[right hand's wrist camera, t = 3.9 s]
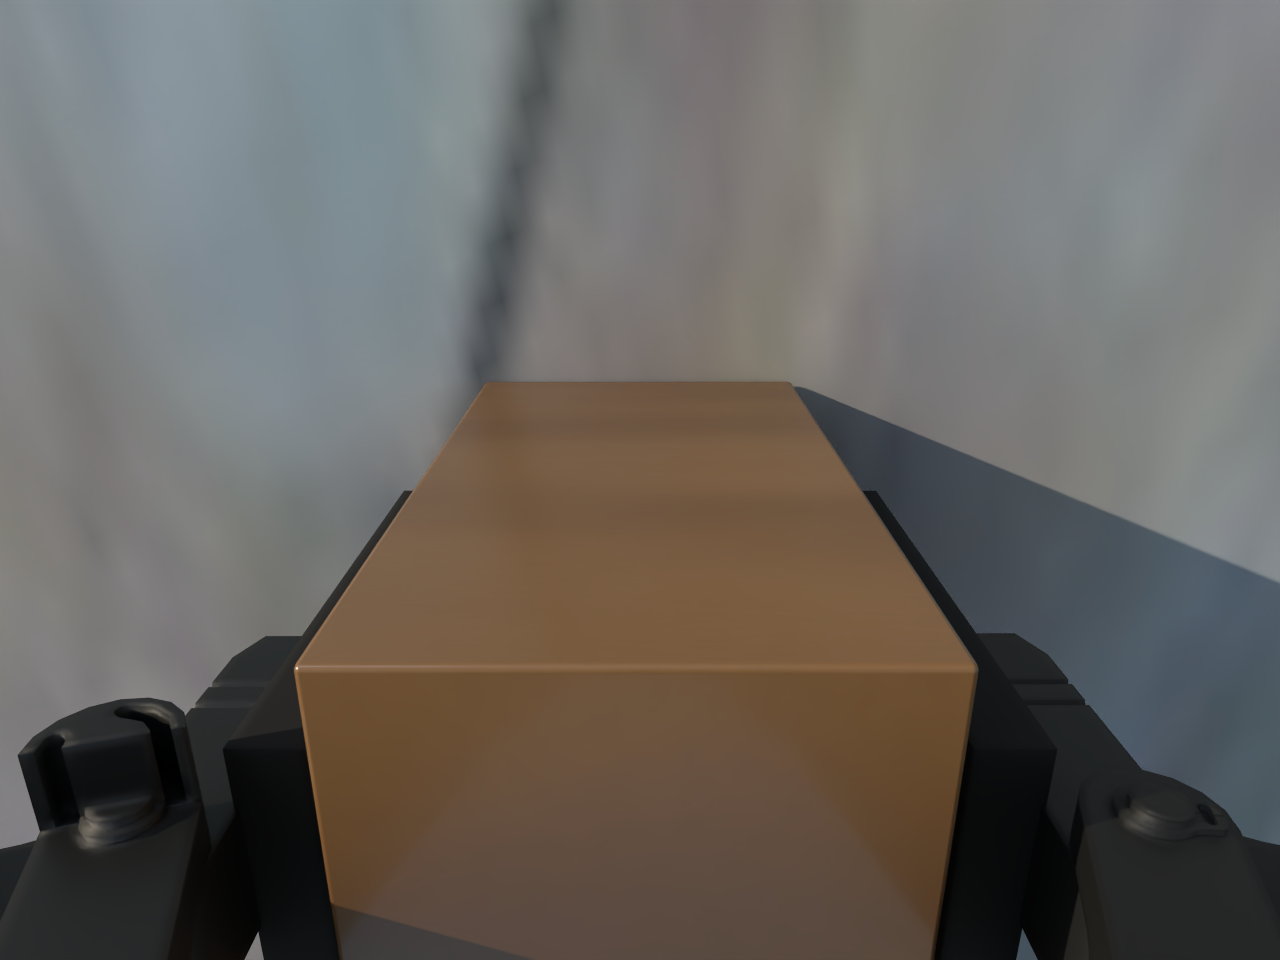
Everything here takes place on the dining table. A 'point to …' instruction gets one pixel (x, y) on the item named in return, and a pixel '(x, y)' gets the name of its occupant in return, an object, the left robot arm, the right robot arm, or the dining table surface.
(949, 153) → the dining table surface
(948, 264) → the dining table surface
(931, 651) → the bar
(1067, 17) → the dining table surface
